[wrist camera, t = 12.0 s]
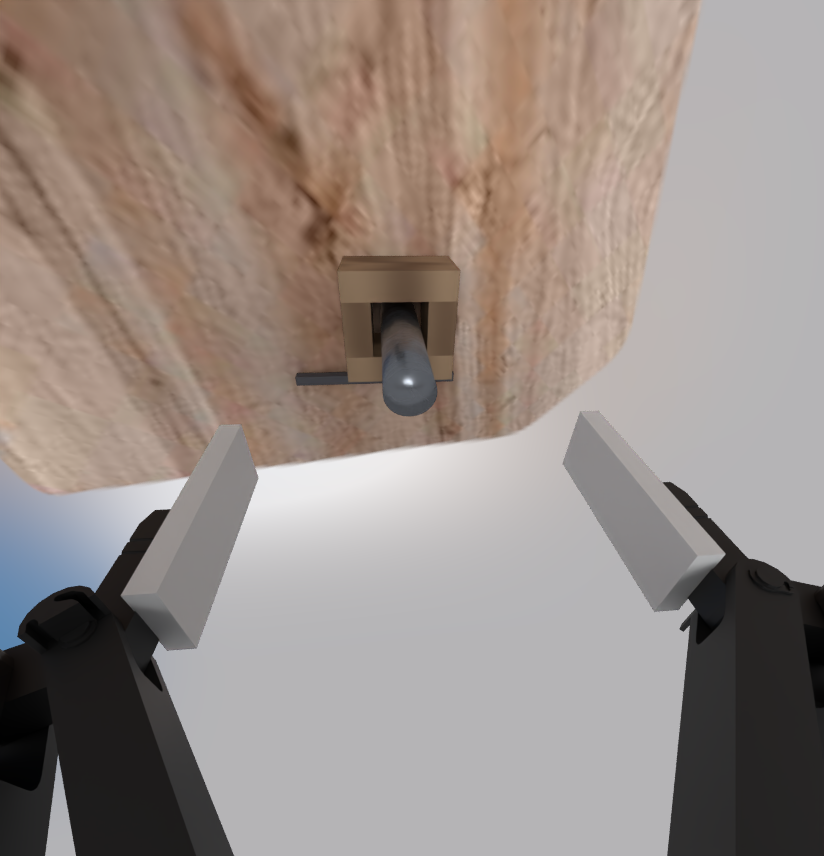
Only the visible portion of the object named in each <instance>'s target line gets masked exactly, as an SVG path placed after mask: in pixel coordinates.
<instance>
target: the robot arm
mask: <svg viewBox="0 0 824 856" xmlns="http://www.w3.org/2000/svg"><path fill="white" fill-rule="evenodd" d="M563 465H564V466H565V468H566V470H567V471H568V473H569V475H570V476H571V478H572V479H573V481H574V483H575V484H576V486H577V488H578V489H579V491H580V492H581V494H582V495H583V497H584V498H585V500H586V502H587V504H588V505H589V507H590V509H591V510H592V512H593V513H594V515H595V517H596V518H597V520H598V521H599V523H600V525H601V526H602V528H603V530H604V531H605V533H606V534H607V536H608V538H609V539H610V541H611V542H612V544H613V546H614V547H615V549H616V550H617V552H618V554H619V555H620V557H621V559H622V560H623V562H624V564H625V565H626V567H627V568H628V570H629V572H630V573H631V575H632V576H633V578H634V580H635V581H636V583H637V585H638V586H639V588H640V589H641V591H642V593H643V594H644V596H645V597H646V599H647V601H648V602H649V604H650V606H651V607H652V609H653V610H654V612H656V611H669V610H679V609H680V607H681V606H682V605H683V604H684V603H685V602H686V600H687V599H689V600H690V602H691V603H692V605H693V606H694V607H695V610H694V611H693V612H692V613H691V614H690V615H689V616H688V618H687V619H686V620H685V621H684V622H683V623H682V625H681V627H680V630H682V631H685V629H686V628H687V627H688V626H690V631H689V642H688V651H687V662H686V671H685V681H684V692H683V702H682V712H681V723H680V732H679V742H678V752H677V763H676V773H675V783H674V793H673V804H672V813H671V823H670V834H669V844H668V854H667V856H824V585H823V586H822V587H819V586H815V585H810V584H805V583H800V582H796V581H791V580H790V579H789V578H788V577H786V575H784V574H783V573H782V572H780V571H779V570H778V569H776V568H774V567H772V566H770V565H768V564H767V563H765V562H761V561H758V560H755V559H748V558H747V557H746V556H745V555H744V554H743V553H742V552H741V551H740V550H739V548H738V547H737V546H736V545H735V544H734V543H733V542H732V541H731V540H730V539H729V538H728V537H727V536H726V535H725V533H724V532H723V531H722V530H721V529H720V528H719V527H718V526H717V525H716V524H715V523H714V522H713V521H712V520H711V518H708V515H707V514H706V513H705V512H704V511H703V510H702V509H701V508H699V507H698V505H697V503H695V501H694V500H693V499H692V498H691V497H690V496H689V495H688V494H687V493H686V492H685V491H683V490H682V489H680V488H678V487H677V486H676V485H674V484H673V483H671V482H661V481H660V480H659V478H658V477H657V476H656V475H655V474H654V473H653V472H652V470H651V469H650V468H649V467H648V466H647V465H646V464H645V463H644V461H643V460H642V459H641V458H640V457H639V456H638V455H637V454H636V452H635V451H634V450H633V449H632V448H631V447H630V446H629V445H628V443H627V442H626V441H625V440H624V439H623V438H622V437H621V436H620V435H619V433H618V432H617V431H616V430H615V429H614V428H613V427H612V425H610V423H609V422H608V421H607V420H606V419H605V418H604V416H603V415H602V414H601V413H600V412H599V411H583V412H580V413H579V416H578V419H577V422H576V425H575V429H574V431H573V434H572V437H571V440H570V443H569V446H568V449H567V452H566V455H565V458H564V461H563ZM257 480H258V475H257V472H256V469H255V466H254V463H253V460H252V457H251V453H250V450H249V447H248V444H247V441H246V438H245V435H244V432H243V429H242V426H241V424H233V425H220V426H219V427H218V429H217V431H216V432H215V434H214V436H213V438H212V439H211V441H210V443H209V444H208V446H207V448H206V450H205V451H204V453H203V455H202V457H201V458H200V460H199V462H198V463H197V465H196V467H195V469H194V470H193V472H192V474H191V475H190V477H189V479H188V481H187V482H186V484H185V486H184V488H183V489H182V491H181V493H180V495H179V497H178V498H177V500H176V501H175V503H174V505H173V507H172V508H171V509H168V510H155V511H154V512H152V513H151V514H150V515H149V516H148V517H147V518H146V519H145V520H143V521H142V522H141V523H140V524H139V526H138V527H137V529H136V530H135V532H134V533H133V535H132V536H131V538H130V542H128V543H127V544H126V546H125V547H124V549H123V550H122V554H121V555H119V557H118V558H117V560H116V561H115V563H114V564H113V566H112V567H111V569H110V571H109V572H108V574H107V575H106V577H105V579H104V580H103V581H102V583H101V585H100V586H99V588H98V589H97V591H96V593H94V592H93V591H92V590H91V589H90V588H89V587H84V586H74V587H68V588H65V589H63V590H61V591H58V592H56V593H53V594H52V595H50V596H48V597H47V598H46V599H44V600H42V601H41V602H39V603H38V604H37V605H36V606H35V607H34V608H33V609H32V610H31V611H30V612H29V613H28V614H27V615H26V617H25V618H24V620H23V621H22V623H21V624H20V626H19V631H18V636H17V637H19V638H20V639H21V640H22V641H24V642H25V643H24V644H21V645H18V646H15V647H13V648H9V649H7V650H4V651H2V650H1V649H0V856H45V852H46V844H47V836H48V828H49V820H50V812H51V805H52V797H53V789H54V781H55V773H56V765H57V757H58V755H59V761H60V767H61V772H62V778H63V784H64V789H65V795H66V800H67V807H68V812H69V818H70V824H71V829H72V835H73V841H74V846H75V852H76V856H234V855H233V852H232V850H231V847H230V845H229V842H228V840H227V837H226V835H225V832H224V830H223V827H222V825H221V822H220V820H219V817H218V815H217V812H216V810H215V807H214V805H213V802H212V800H211V797H210V795H209V792H208V790H207V787H206V785H205V782H204V780H203V777H202V775H201V772H200V770H199V767H198V765H197V762H196V760H195V757H194V755H193V752H192V750H191V747H190V745H189V742H188V740H187V737H186V735H185V732H184V730H183V727H182V725H181V722H180V720H179V717H178V715H177V712H176V710H175V707H174V705H173V702H172V700H171V697H170V695H169V692H168V690H167V687H166V685H165V682H164V680H163V677H162V675H161V672H160V670H159V667H158V665H157V662H156V660H155V659H154V658H153V657H152V654H153V653H154V650H155V648H156V646H157V644H158V641H159V642H160V643H161V644H162V645H163V646H164V648H165V649H166V650H167V651H169V650H182V649H194V648H197V645H198V643H199V640H200V637H201V634H202V632H203V629H204V626H205V624H206V621H207V618H208V615H209V613H210V610H211V607H212V604H213V602H214V599H215V596H216V593H217V590H218V588H219V585H220V582H221V580H222V577H223V574H224V571H225V568H226V566H227V563H228V560H229V557H230V554H231V552H232V549H233V547H234V544H235V541H236V538H237V536H238V533H239V530H240V527H241V525H242V522H243V519H244V516H245V514H246V511H247V508H248V505H249V502H250V500H251V497H252V494H253V491H254V489H255V486H256V483H257Z"/></svg>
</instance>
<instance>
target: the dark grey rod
mask: <svg viewBox="0 0 824 856" xmlns="http://www.w3.org/2000/svg"><path fill="white" fill-rule="evenodd" d="M453 374H454V373H453V371H452V379H447V380H435V382H441V381H453ZM295 378H296V383H297V386H298V385H334V384H370V383H382V381H374V382H348V374H347V372H329V373H297V375H296V377H295Z"/></svg>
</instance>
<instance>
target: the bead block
mask: <svg viewBox="0 0 824 856" xmlns="http://www.w3.org/2000/svg"><path fill="white" fill-rule="evenodd" d="M337 274H338V284H339V294H340V304H341V314H342V324H343V334H344V344H345V354H346V364H347V374H348V382H374V381H382V350H381V333H374V329H373V310H372V303H374V302H421V332H422V336H423V339H424V343H425V347H426V350H427V354H428V357H429V361H430V364H431V368H432V372H433V375H434V379H435V380H447V379H452V368H453V355H454V343H455V330H456V318H457V305H458V293H459V281H460V270H459V268H458V267H457V266H456V265H455V264H454V262H453V261H452V260H451V259H450V257H449V256H343V258H342V260H341V263H340V266H339V268H338V271H337Z"/></svg>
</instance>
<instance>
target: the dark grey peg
mask: <svg viewBox="0 0 824 856" xmlns="http://www.w3.org/2000/svg"><path fill="white" fill-rule="evenodd" d="M380 317H381V350H382V383H383V399H384V402H385V404H386V405H387V407H388V408H389V409H390V410H391V411H393V412H394V413H396V414H399V415H402V416H416V415H419V414H422V413H424V412H425V411H427V410H428V409H429V408H430V407H431V406H432V405H433V404H434V402H435V400H436V397H437V386H436V382H435V379H434V375H433V372H432V368H431V364H430V361H429V357H428V354H427V350H426V347H425V343H424V339H423V336H422V332H421V329H420V325H419V322H418V318H417V314H416V311H415V307H414V304H413V302H381V306H380Z"/></svg>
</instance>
